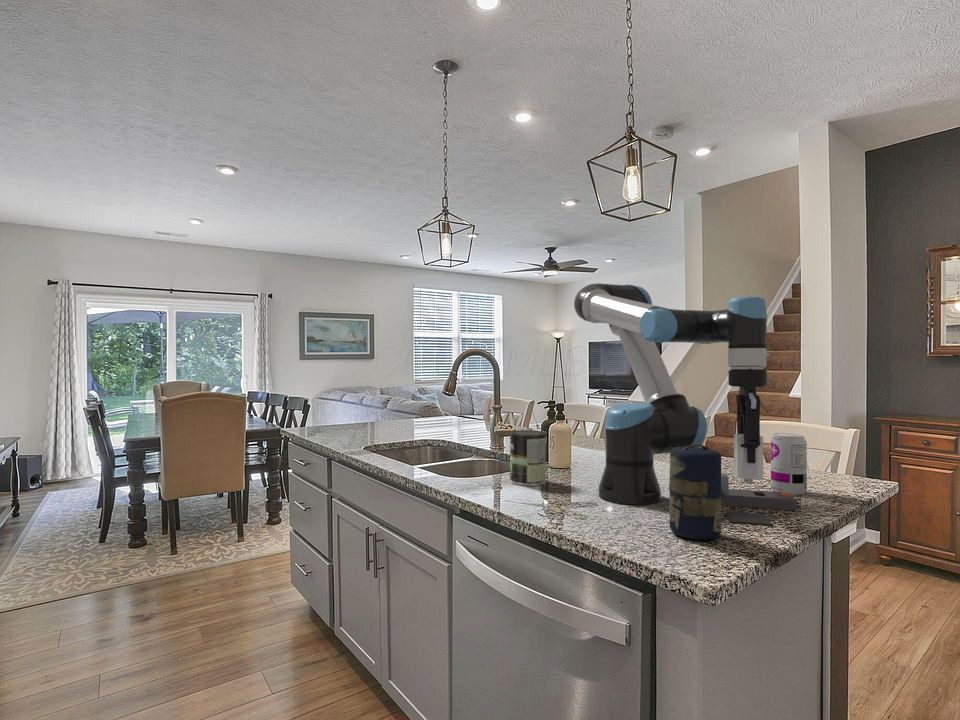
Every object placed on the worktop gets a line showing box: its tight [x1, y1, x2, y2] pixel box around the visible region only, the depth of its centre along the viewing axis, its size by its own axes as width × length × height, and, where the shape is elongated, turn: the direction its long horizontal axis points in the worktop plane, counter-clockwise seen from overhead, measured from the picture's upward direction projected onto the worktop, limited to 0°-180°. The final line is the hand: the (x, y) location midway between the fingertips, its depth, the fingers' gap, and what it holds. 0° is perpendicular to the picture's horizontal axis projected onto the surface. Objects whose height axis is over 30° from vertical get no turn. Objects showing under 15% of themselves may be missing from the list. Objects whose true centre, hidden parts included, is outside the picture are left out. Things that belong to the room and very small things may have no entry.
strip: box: [721, 473, 797, 511], centre depth 129 cm, size 26×10×6 cm, turn 73°
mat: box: [724, 510, 773, 527], centre depth 117 cm, size 8×8×1 cm
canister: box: [668, 444, 722, 541], centre depth 106 cm, size 10×10×18 cm
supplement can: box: [770, 432, 808, 496], centre depth 142 cm, size 8×8×15 cm
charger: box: [733, 433, 764, 485], centre depth 117 cm, size 5×5×10 cm
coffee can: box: [509, 429, 547, 487], centre depth 153 cm, size 10×10×14 cm
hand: (748, 475), depth 117 cm, fingers closed on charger, 5 cm apart
